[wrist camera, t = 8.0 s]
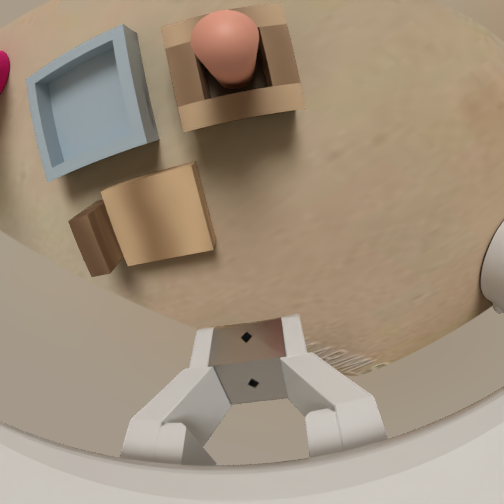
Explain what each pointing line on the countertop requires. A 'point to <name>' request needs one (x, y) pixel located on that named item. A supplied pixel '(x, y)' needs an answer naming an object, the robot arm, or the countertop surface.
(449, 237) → the countertop surface
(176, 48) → the socket block
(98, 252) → the block
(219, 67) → the dowel
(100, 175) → the countertop surface
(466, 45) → the countertop surface
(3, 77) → the pepper mill
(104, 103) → the tray
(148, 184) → the tan wooden cuboid
